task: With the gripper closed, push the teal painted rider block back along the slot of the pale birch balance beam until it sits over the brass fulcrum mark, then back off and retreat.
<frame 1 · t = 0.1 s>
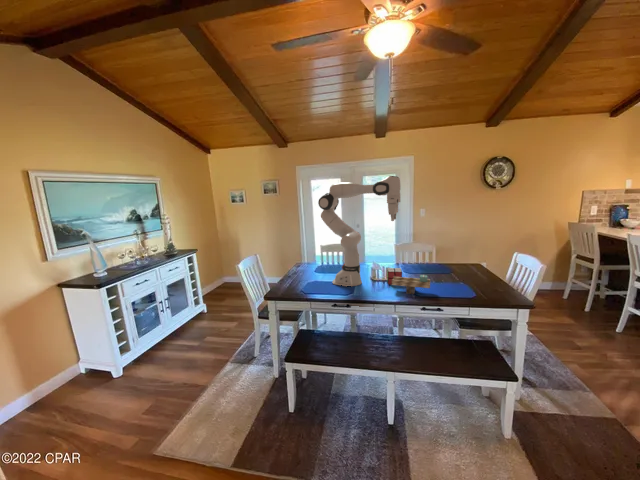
hand: (393, 220, 187), 48 cm above the table, fingers open, 8 cm apart
puzzle cube: (394, 282, 204), on the table
beam: (410, 291, 184), on the table
rider: (423, 279, 179), point 9 cm above the table, slide at 8.0 cm
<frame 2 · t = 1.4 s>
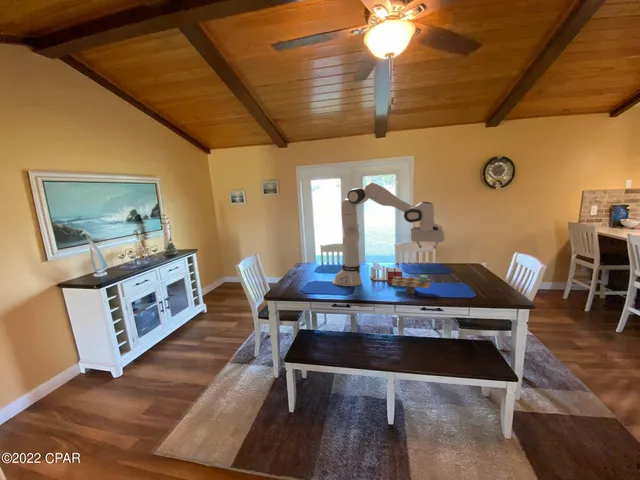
hand: (427, 248, 176), 30 cm above the table, fingers open, 8 cm apart
nothing on the table moved.
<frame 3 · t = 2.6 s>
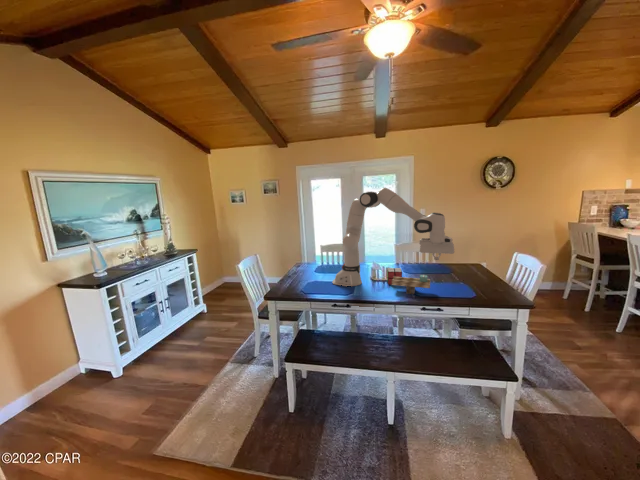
hand: (436, 259, 174), 23 cm above the table, fingers closed
nothing on the table moved.
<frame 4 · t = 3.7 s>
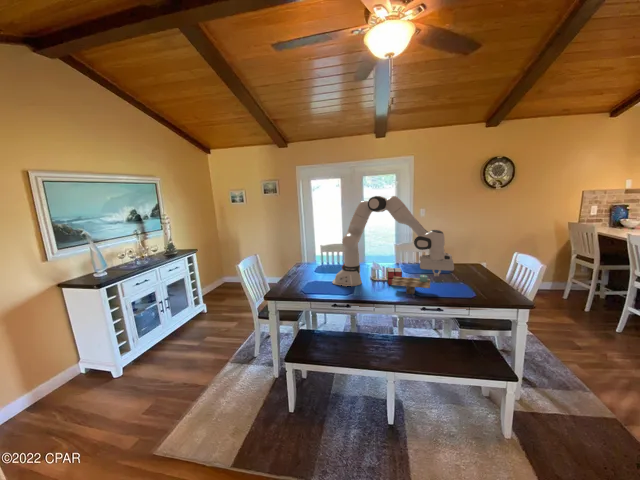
hand: (436, 276, 176), 12 cm above the table, fingers closed
nothing on the table moved.
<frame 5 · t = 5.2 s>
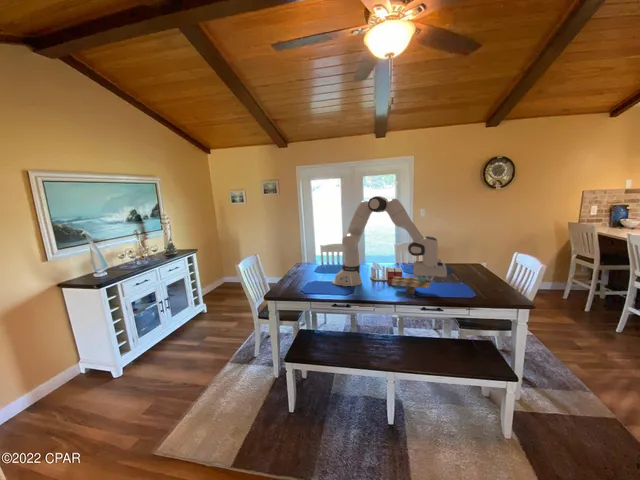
hand: (429, 282, 178), 8 cm above the table, fingers closed
rider: (421, 279, 180), point 9 cm above the table, slide at 6.9 cm, touching gripper
everything else where it was.
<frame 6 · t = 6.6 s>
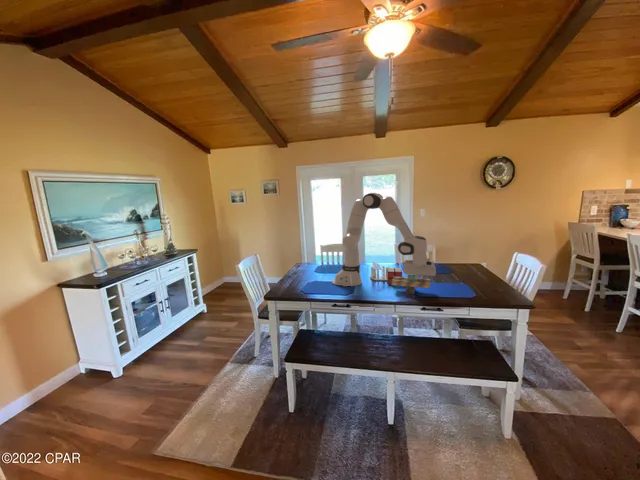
hand: (419, 281, 181), 8 cm above the table, fingers closed
rider: (411, 278, 182), point 9 cm above the table, slide at 0.4 cm, touching gripper
everything else where it was.
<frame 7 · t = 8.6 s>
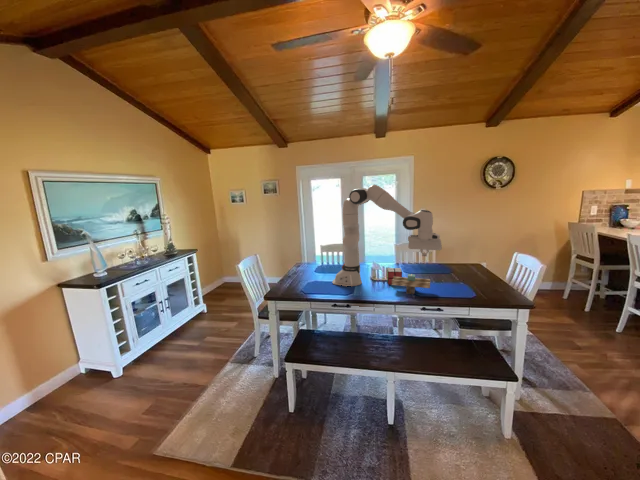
hand: (424, 256, 177), 25 cm above the table, fingers closed
rider: (411, 278, 182), point 9 cm above the table, slide at 0.4 cm
everything else where it was.
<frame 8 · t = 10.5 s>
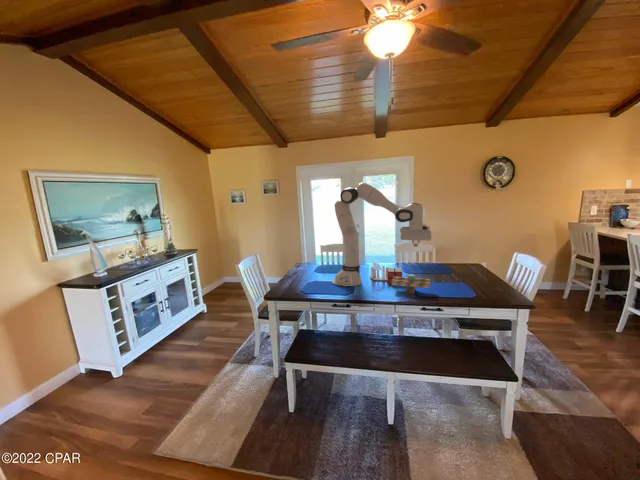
hand: (415, 246, 188), 29 cm above the table, fingers closed
nothing on the table moved.
at the end: rider slide at 0.4 cm; rider touching nothing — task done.
